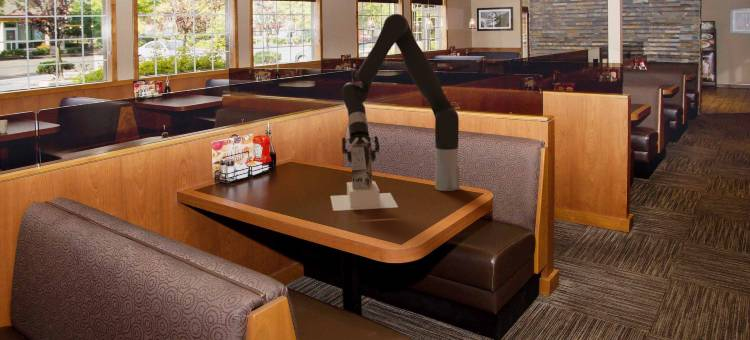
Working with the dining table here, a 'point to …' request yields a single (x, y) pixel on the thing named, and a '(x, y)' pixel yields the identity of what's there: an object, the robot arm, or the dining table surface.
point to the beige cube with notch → (363, 196)
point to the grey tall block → (361, 165)
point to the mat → (343, 204)
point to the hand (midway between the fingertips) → (362, 161)
